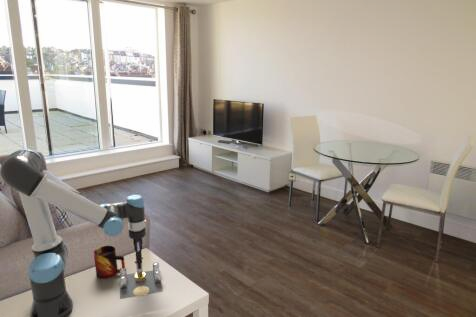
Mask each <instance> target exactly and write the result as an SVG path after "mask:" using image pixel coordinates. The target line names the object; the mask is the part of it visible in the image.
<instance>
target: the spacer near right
mask: <svg viewBox="0 0 476 317" xmlns="http://www.w3.org/2000/svg"><path fill="white" fill-rule="evenodd" d="M161 278H162V276H161V270H160V269H159V270H156V271H154V283H160V282H161V283H162V279H161Z"/></svg>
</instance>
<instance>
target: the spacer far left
mask: <svg viewBox="0 0 476 317" xmlns="http://www.w3.org/2000/svg"><path fill="white" fill-rule="evenodd" d="M119 269H120V273H119V278H120V277H121V276H126V278H127V274H128V273H127V267H126V266H125V267H122V266H121V267H120V268H119Z"/></svg>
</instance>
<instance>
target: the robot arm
mask: <svg viewBox="0 0 476 317" xmlns="http://www.w3.org/2000/svg"><path fill="white" fill-rule="evenodd" d="M43 164H44V162H43V159H42V156H41V155H40V154H39V153H38V152H37V151H35V150H33V149H30V148H21V149H18V150H16V151H14V152H12V153H11V154H10V155H9V156H8V158H7V159H5V160H4V161H3V162H2V164H1V165H0V177H1V179H2V181H3V182H4V183H5V184H6V186H9V187H10V188H12V189H14V190H15V191H17V192H18V194H19V197H20V200H21V204H22V207H23V210H24V213H25V217H26V220H27V222H28V226H29V229H30V230H29V231H30V233H31V236H32V239H33V242H34V243H33V244H32V245H31V250H32V255H33V257H34V258H33V259H32V260H31V261H30V262H29V265H28V276H29V281H30V282H29V283H30V287H31V293H32V299H33V300H32V305H31V307H30V308H31V309H30V312H29V313H30V314H29V315H30V317H68V316H69V315H70V314H71V312H72V311H73V309H74V308H73V307H74V302H73V300H72V298H71V296H70V295H69V293H68V291H67V287H66V286H67V285H66V279H65V278H66V277H65V271H66V265H67V260H68V257H69V256H68V255H69V251H68V247H67V245H66V243H65V242H64V240H63V238H62V237H61V236H59V235H58V234H57V231H56V227H55V224H54V220H53V217H52V216H53V215H52V213H51V210H50V206H49V205H50V204H51V205H52V206H55V207H57V208H59V209H61V210H63V211H65V212H67V213H70V214H71V215H73V216H75V217H78V218H79V219H82V220H84V221H86V222H88V223H90V224H92V225H94V226H96V227H98V228H100V229H102V230H103V232H104V234H106V236H108V237H117V236H119V235H120V234H122V232H123V230H124V220H123V219H127V229H128V238H130V239H131V240H132V241H133V247H134V251H135V261H134V264H135V265H136V267H135V268H136V273H139V272H144V271H143V270H144V269H143V260H144V257H142V256H143V255H142V250H143V238H144V237H146V234H147V233H146V231H147V230H146V223H147V220H146V218H145V217H146V216H145V203H144V202H145V200H144V197H143V196H142V195H140V194H131V195H129V196H127V197H126V200H124V201H120V202H119V201H118V202H110V203H108V202H107V203H102V204H98V203H96V202H94V201H92V200H90V199H88V198H86V197H84V196H82V195H80V194H79V193H76V192H74V191H73V190H71V189H68V188H67V187H65V186H63V185H62V184H60V183H58V182H55V181H53V180H51V179H50V178H48V176H47V174H46V173H44V171H43V167H44V166H43Z"/></svg>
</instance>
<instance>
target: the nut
mask: <svg viewBox="0 0 476 317" xmlns="http://www.w3.org/2000/svg"><path fill="white" fill-rule="evenodd" d="M143 272H144V271H143ZM143 272H139V273H137V272H135V273H136V275H135V281H136V282H139V283H140V282H143V281H145V279H146V273H143Z"/></svg>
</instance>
